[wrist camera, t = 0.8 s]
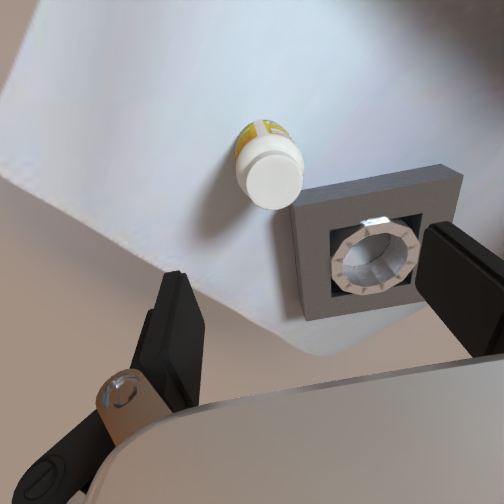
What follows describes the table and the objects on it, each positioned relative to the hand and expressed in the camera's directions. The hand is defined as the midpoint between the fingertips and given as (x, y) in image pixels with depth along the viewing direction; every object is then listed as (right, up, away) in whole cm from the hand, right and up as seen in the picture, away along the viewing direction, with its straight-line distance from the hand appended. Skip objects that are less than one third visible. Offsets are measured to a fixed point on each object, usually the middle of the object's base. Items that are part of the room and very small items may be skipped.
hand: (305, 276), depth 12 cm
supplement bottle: (-1, +11, +17) cm, 20 cm away
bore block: (+11, +2, +23) cm, 26 cm away
